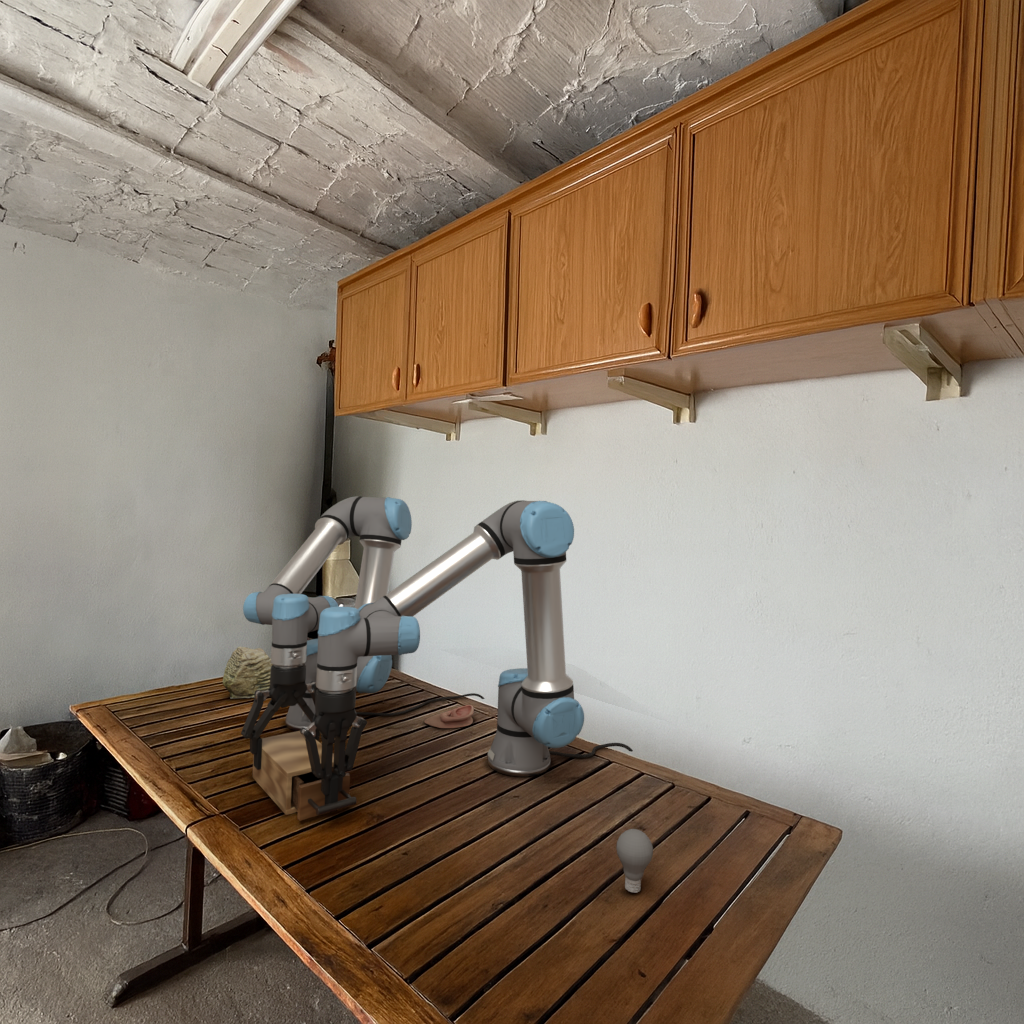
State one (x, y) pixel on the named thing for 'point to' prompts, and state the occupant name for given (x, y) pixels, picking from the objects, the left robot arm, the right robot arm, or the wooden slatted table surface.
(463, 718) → the anatomical model
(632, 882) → the light bulb
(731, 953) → the wooden slatted table surface
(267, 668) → the fossil
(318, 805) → the drawer
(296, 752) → the cabinet
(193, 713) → the wooden slatted table surface
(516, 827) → the wooden slatted table surface
